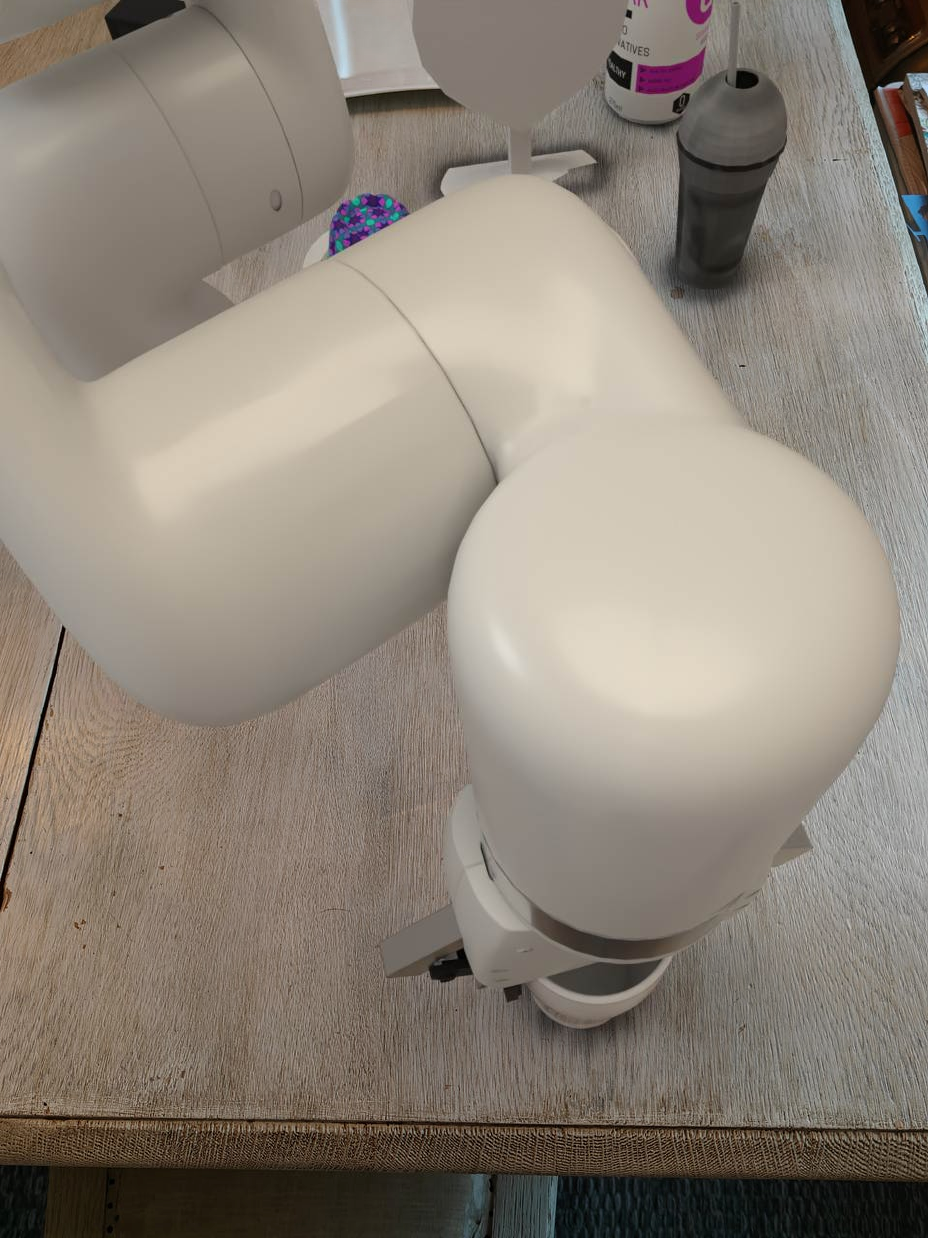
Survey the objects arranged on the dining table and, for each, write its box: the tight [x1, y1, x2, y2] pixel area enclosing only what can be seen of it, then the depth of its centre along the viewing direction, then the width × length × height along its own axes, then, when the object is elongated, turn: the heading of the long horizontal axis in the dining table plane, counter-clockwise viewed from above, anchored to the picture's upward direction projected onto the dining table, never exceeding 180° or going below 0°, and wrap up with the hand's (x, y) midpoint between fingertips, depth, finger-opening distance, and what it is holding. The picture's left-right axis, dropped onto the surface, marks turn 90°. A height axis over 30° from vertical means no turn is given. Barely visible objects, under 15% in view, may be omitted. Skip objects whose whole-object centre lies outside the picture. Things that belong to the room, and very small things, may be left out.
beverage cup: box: [674, 0, 788, 291], centre depth 65 cm, size 7×7×20 cm
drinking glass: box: [524, 955, 674, 1030], centre depth 43 cm, size 7×7×15 cm
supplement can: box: [604, 0, 714, 125], centre depth 78 cm, size 8×8×15 cm
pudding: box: [301, 192, 411, 270], centre depth 74 cm, size 12×12×5 cm
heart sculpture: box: [407, 0, 629, 197], centre depth 73 cm, size 16×5×18 cm, turn 97°
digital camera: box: [104, 0, 186, 41], centre depth 88 cm, size 10×5×7 cm, turn 68°
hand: (587, 937), depth 41 cm, fingers closed on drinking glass, 6 cm apart
